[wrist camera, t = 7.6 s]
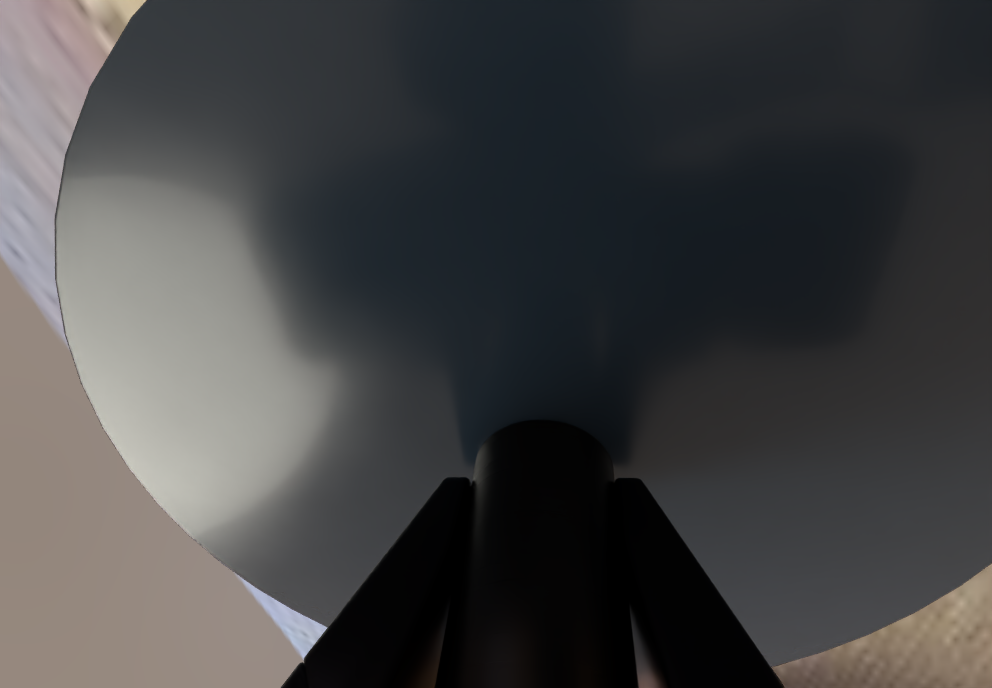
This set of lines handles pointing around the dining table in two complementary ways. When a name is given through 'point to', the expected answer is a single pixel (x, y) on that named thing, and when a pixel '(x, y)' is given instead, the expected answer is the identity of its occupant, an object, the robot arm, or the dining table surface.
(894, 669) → the dining table surface
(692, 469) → the pot lid
